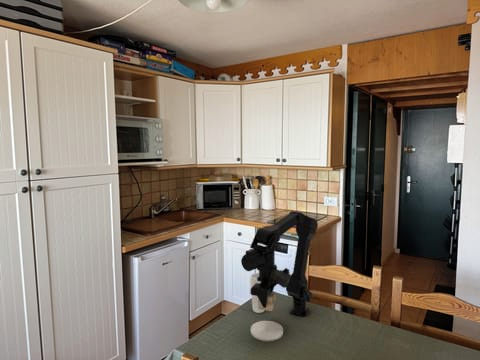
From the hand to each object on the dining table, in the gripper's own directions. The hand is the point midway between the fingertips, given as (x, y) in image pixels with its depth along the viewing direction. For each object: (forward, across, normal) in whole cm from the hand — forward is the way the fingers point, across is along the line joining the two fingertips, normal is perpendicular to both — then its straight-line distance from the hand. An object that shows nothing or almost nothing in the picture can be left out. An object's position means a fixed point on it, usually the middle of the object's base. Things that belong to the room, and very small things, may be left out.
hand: (266, 304), depth 124 cm
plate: (+11, 0, 0) cm, 11 cm away
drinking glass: (+11, +14, +8) cm, 20 cm away
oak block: (+1, 0, 0) cm, 1 cm away
